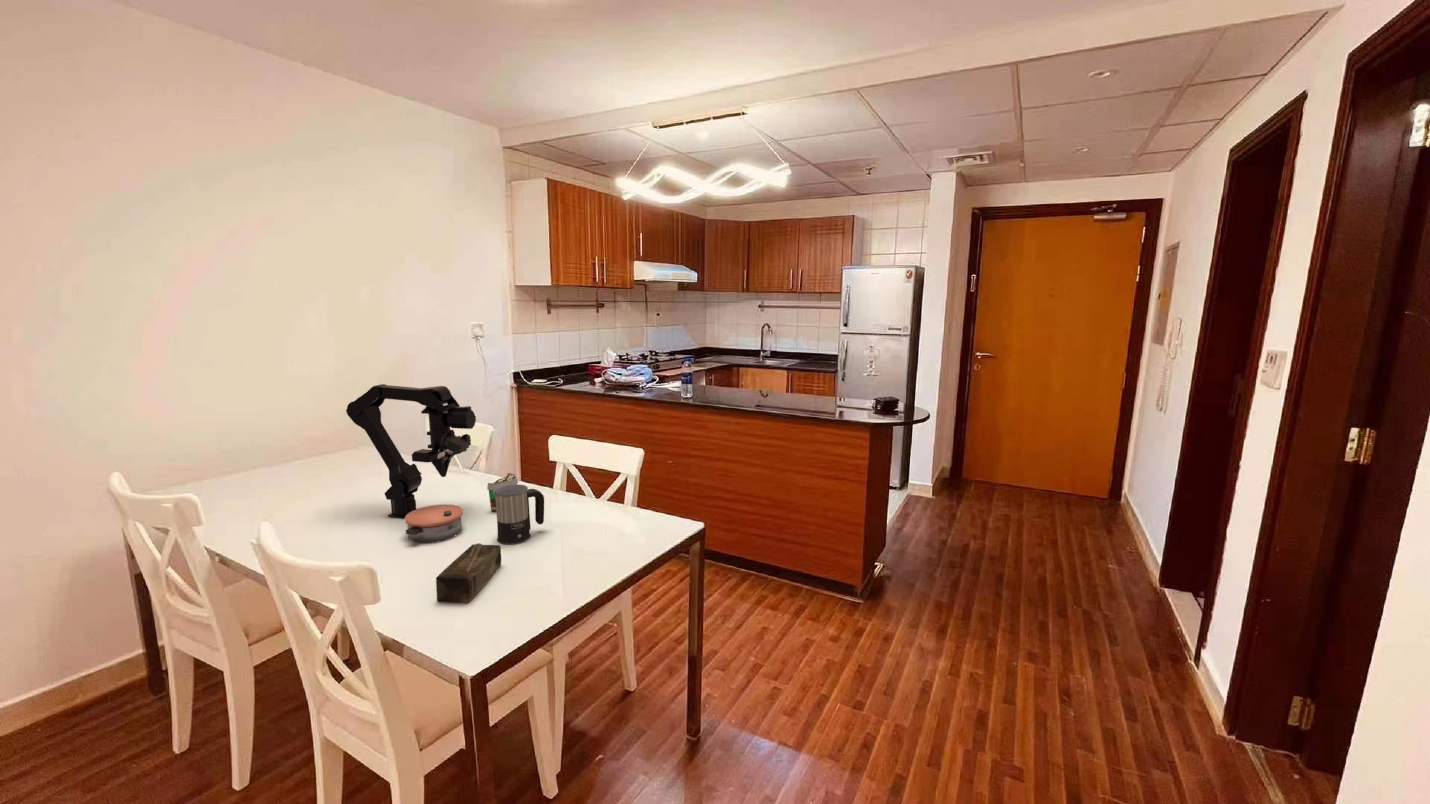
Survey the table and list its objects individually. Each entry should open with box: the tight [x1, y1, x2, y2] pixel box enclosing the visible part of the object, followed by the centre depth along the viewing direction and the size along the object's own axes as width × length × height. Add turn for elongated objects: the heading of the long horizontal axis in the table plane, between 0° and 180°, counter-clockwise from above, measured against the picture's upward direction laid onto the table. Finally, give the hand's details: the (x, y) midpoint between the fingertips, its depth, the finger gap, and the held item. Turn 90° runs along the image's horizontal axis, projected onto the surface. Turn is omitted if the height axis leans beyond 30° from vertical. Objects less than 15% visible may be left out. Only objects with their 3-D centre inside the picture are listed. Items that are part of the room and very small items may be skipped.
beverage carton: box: [435, 542, 502, 604], centre depth 137 cm, size 8×19×7 cm, turn 179°
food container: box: [486, 472, 519, 513], centre depth 186 cm, size 12×6×10 cm, turn 168°
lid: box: [404, 503, 464, 527], centre depth 165 cm, size 15×15×2 cm
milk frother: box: [494, 483, 545, 545], centre depth 165 cm, size 14×16×15 cm
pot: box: [405, 516, 463, 544], centre depth 165 cm, size 14×19×5 cm
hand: (443, 476), depth 176 cm, fingers closed
